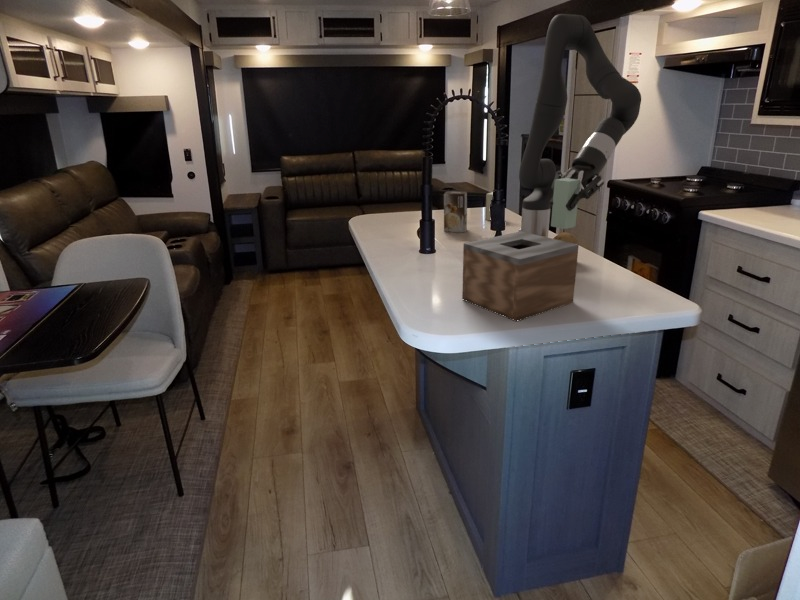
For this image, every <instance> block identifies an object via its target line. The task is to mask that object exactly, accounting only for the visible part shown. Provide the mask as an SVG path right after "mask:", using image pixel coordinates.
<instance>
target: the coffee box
mask: <svg viewBox="0 0 800 600" xmlns="http://www.w3.org/2000/svg"><path fill="white" fill-rule="evenodd" d="M467 221H468V191H445V192H444V193H443V232H448V231H454V233H465V232H466V231H467V230H468V228H467V227H468V226H467V225H468V222H467Z"/></svg>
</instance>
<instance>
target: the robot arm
mask: <svg viewBox="0 0 800 600" xmlns="http://www.w3.org/2000/svg"><path fill="white" fill-rule="evenodd" d="M565 51H576V52H577V53H578V54H579V55H580V56H581V57H582V58H583V59H584V61H585V62H584V63H585V75H586V78H587V80H588V82H589V84H590V85H591V86H592V87H593V89H594V90H595V92H596V93H597V95H598V96H599V97H600V98H601V99H603V100H610V101H611V110H610V114H609V116H608V117H605V118H604V117H603V119H601V121H599V122H598V123H597V125H596V127H595V129H594V130H593V132H592V134H591V135H589V137H588V138H587V139H586V141H585V142H584V143H583V145H582V147H581V148H580V150H579V151H578V153H577V154H576V155H575V157H574V159H572V164H571V167H569V169H567V170H566V171H564V172H561V170H557V169H556V164H555V162H554V161H553V160H552V159H550V158H542V157H543V153H544V150H545V148H546V146H547V144H548V142H549V141H550V140H551V139H552V137H553V136H554V135H555V133H556V132H557V131H558V129H559V128H560V126H561V124H562V122H563V121H564V116H565V112H566V107H567V104H568V90H567V87H566V83H565V80H564V75H563V71H562V70H563V68H562V67H563V60H564V54H565ZM543 54H544V56H543V61H542V62H543V63H542V70H541V77H540V82H539V86H538V92H537V97H536V100H535V104H534V109H533V115H532V120H531V125H530V129H529V135H528V138H527V143H526V147H525V150H524V152H523V155H522V159H521V163H520V166H519V172H518V173H519V174H518V179H519V183H520V185H521V187H522V188H524V189H533V191H532V193H530V194H529V195H528V196H527V197H524V198H523V200H522V205H521V206H522V207H521V208H522V209H521V224H520V226H521V227H520V228H519V229H518V232H520V231H521V232H525V233H530V234H534V235H539V236H543V237H547V238H549V230H550V229H549V228H550V217H551V208H552V207H553V195H554V183H555V180H556V179H563V178H570V179H577V180H580V182H579V183H578V185H577V189H576V190H575V194H573V195H572V197H571V198H570V200H569V201H568V203H567V204H566V208H567V209H568V210H569V211H571V210H572V209H574V208H575V206H576V205H577V203H578V204H579V202H580V201H581V200H582V199H585V200H588V199H590V198H591V197H592V196H593V195H594V194H595V193H596V192H598V190H599V189H600V188H601V187H602V186H603V185H604V184H605V181H604V180H603V178H602V176H601V175H600V174H601V172H602V171H603V169H604V168H605V166H606V164H607V163H608V161H609V160H610V158H611V157H612V155H613V153H614V152H615V151H614V150H615V149H616V147H617V146H618V144H619V143H620V142H621V139H622V137H623V136H624V135H625V134H627V132H629V130H630V129H631V128H633V126H634V124H635V123H636V121H637V120H638V117H639V115H640V110H641V103H642V95H641V92H640V90H639V89H638V86H636V84H634V83H632V82H630V81H629V80H628V79H626V78H625V77H623V76H622V75H621V74H620V72H619V71H618V69H616V67H615V66H614V64H612V62H611V61H610V59H609V57H608V56H607V55H606V53H605V51H604V49H603V47H602V45H601V42H600V41H599V39H598V37H597V34H596V33H595V31H594V28H593V26H592V25H591V23H590V21H589V20H588V18H587V17H585V16H584V15H581V14H571V13H570V14H569V13H568V14H567V13H558V14H556V15H554V17H553V18H552V19H551V20H550V23H549V24H548V29H547V32H546V38H545V47H544V53H543Z"/></svg>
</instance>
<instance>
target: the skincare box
mask: <svg viewBox="0 0 800 600" xmlns="http://www.w3.org/2000/svg"><path fill="white" fill-rule="evenodd" d="M493 192H494V191H492V192H488V193H486V194H485V195H486V196H485V217H484V220H485V221H490V211H489V207H490V204H491V200H492V197H493Z"/></svg>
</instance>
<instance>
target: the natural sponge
mask: <svg viewBox="0 0 800 600" xmlns="http://www.w3.org/2000/svg"><path fill="white" fill-rule="evenodd" d="M552 239H556V240H560V241H565V242H569V243H574V244H578V245H579V241H578V238H577V237H576V236H575V235H574V234H572V233H570V232H560V233H558V234H557V235H555V236H554V237H553V238H552Z"/></svg>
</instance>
